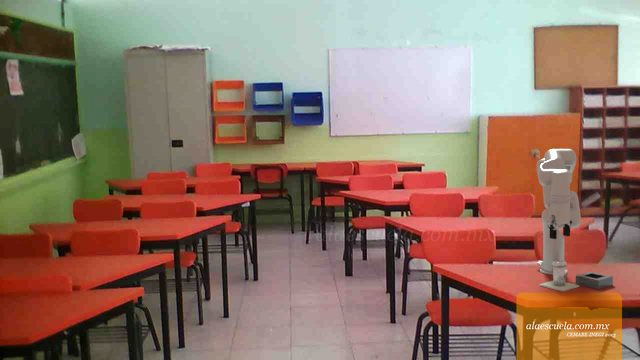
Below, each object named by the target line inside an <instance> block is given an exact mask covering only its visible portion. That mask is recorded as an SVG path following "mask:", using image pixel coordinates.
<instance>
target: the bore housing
mask: <svg viewBox="0 0 640 360" xmlns="http://www.w3.org/2000/svg"><path fill="white" fill-rule="evenodd" d="M613 283H614V276H612V275H609V274H605V273H604V274H603V273H599V272H594V271H587V272H583V273H580V274H576V275H575V285H579V286H583V287H587V288H590V289H595V290H601V289H604V288H608V287H611V286H613Z"/></svg>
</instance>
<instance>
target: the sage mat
mask: <svg viewBox="0 0 640 360" xmlns="http://www.w3.org/2000/svg"><path fill="white" fill-rule="evenodd" d="M538 286H539V287H544V288H548V289H552V290H556V291H559V292H567V291H570V290H573V289H576V288H580V285H577V284H576V283H570V282H566V281H565V286H555V285H553V280H551V281H545V282H543V283H539V284H538Z"/></svg>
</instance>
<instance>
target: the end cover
mask: <svg viewBox="0 0 640 360" xmlns="http://www.w3.org/2000/svg"><path fill="white" fill-rule="evenodd" d="M567 263H568V262H567V261H566V260H564V261H561V260H555V261H552V265H553V275H552V278H553V280H552V281H553V285H555V286H565V282H566V274H565V269H566V268H567V265H568V264H567Z"/></svg>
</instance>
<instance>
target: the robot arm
mask: <svg viewBox="0 0 640 360" xmlns="http://www.w3.org/2000/svg"><path fill="white" fill-rule="evenodd" d="M576 165H577V154H576V152H575V151H574V150H573V149H572V148H552V149H548V150H547V151H545V152H544V156H543V158H542V159H539V160H537V163H536V174H537V178H538V182H539V184H540V185H541V187H542V196H543V205H544V207H545V209H544V210H543V211H542V212H541V221H542V229H543V230H542V232H543V233H542V235H543V236H542V237H543V245H542V246H543V253H542V254H543V255H542V256H543V258H542V260H538V261H537V262H536V265H537V266H539V267H540V266H541V267H540V268H539V272H540V273H542V274H545V275H549V276H550V275H551V276H553V265H552V261H555V260H561V261H565V237H571V229H576V228H579V227H580V226H581V224H582V223H581V222H582V217H581V210H580V201H579V196H578V194H577V192H576V191H574V190H571V189H570V188H571V183H572V181H573V173H574V170H575V167H576ZM560 229H563V230H562V231H561V230H560ZM567 274H568V269H566V268H565V275H567Z"/></svg>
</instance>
